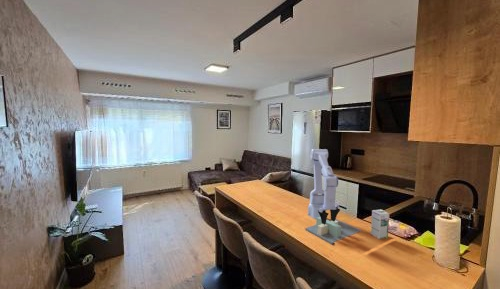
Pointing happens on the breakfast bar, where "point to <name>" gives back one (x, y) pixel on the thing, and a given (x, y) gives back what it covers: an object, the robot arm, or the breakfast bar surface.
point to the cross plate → (330, 227)
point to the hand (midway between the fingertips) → (328, 222)
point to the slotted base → (324, 234)
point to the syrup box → (380, 224)
